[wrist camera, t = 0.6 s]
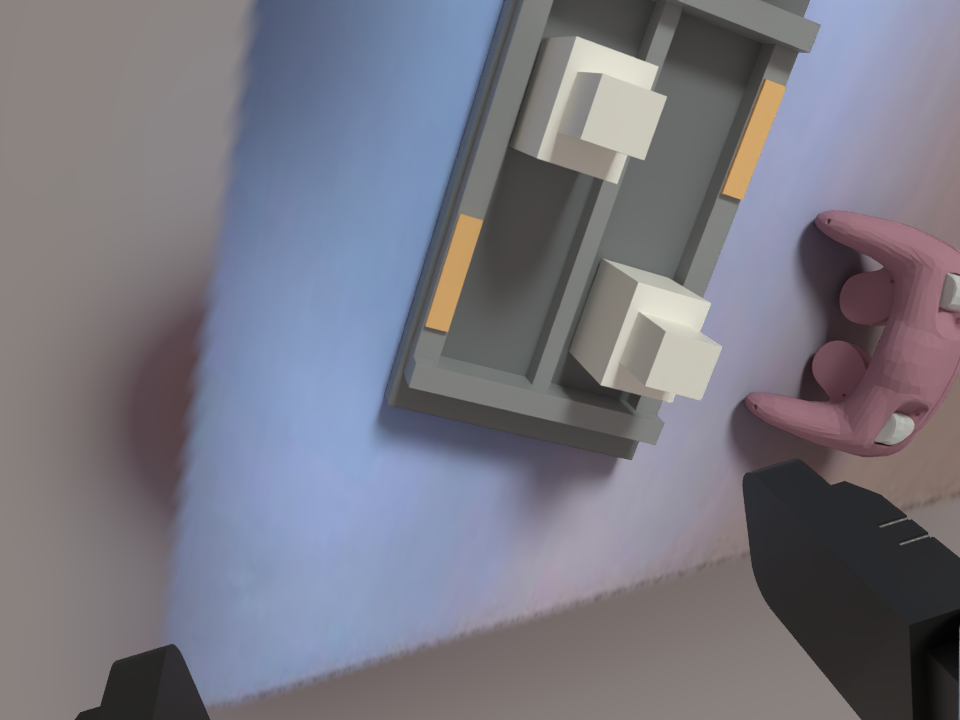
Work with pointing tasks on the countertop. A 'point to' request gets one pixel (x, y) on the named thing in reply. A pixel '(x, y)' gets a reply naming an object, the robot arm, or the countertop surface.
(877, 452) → the video game controller
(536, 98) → the tab
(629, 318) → the tab
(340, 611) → the countertop surface
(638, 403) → the switch bank
